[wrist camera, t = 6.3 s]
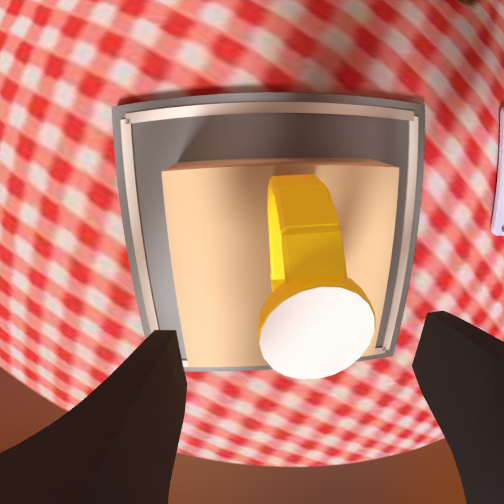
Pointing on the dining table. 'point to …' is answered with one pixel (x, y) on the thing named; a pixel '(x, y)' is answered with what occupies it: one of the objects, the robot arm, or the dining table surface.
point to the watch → (310, 285)
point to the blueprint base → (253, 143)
